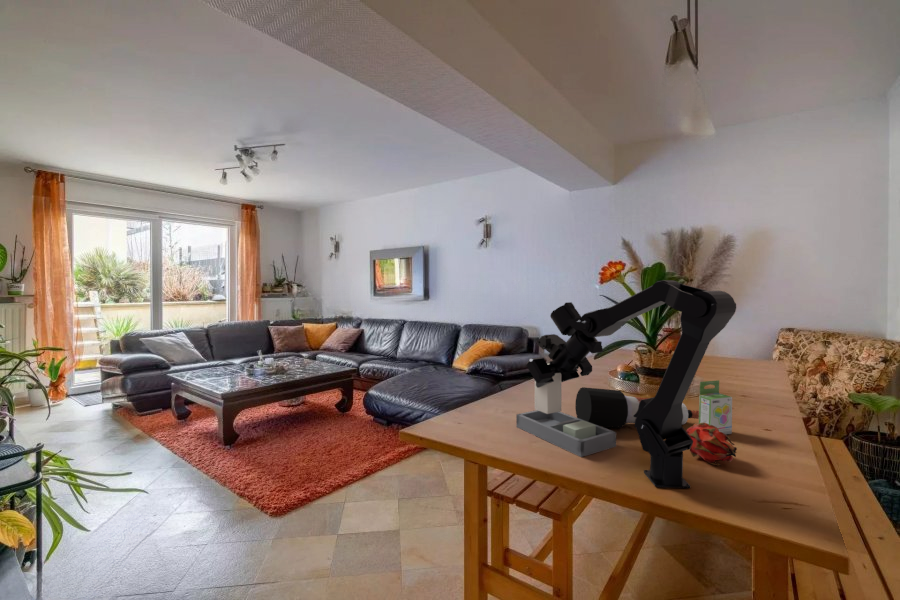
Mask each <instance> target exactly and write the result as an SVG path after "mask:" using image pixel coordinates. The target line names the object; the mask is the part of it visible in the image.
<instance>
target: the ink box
mask: <svg viewBox="0 0 900 600" xmlns="http://www.w3.org/2000/svg"><path fill="white" fill-rule="evenodd" d="M710 385H712V386H714V387H712V388H705V387H706V386H707V387H708V386H710ZM698 396H699V397H698V398H699V399H698V400H699V403H698V404H699V405H698V411H699V419H698V423H699V424H700V423H703V422H705V423H707V424H709V425H713V426H715V427H717V428H718V429H719V432H722V433H724V434H726V435H731V434H732V433H733V397H732V396H730V395H726V394H724V393H720V380H719V379H717V380H707V381H700V382H699V395H698Z"/></svg>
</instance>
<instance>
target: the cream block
mask: <svg viewBox="0 0 900 600" xmlns="http://www.w3.org/2000/svg"><path fill="white" fill-rule="evenodd" d="M547 365H549V363H547ZM552 378H553V380H554V382H551V383H549V384H546V385H544V386H541V387H539V388H537V386H536V381H535V380H534V410H538V411H541V412H543V413H546V414H550V413H555V412H559V411H560V412H562V382H561V373H555V375H554V376H553V377H552Z"/></svg>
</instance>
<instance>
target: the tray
mask: <svg viewBox="0 0 900 600" xmlns="http://www.w3.org/2000/svg"><path fill="white" fill-rule="evenodd" d="M515 418H516V423H515V424H516V428H517V429H520V430H522V431H525V432H526V433H529V434H530V435H533V436H535V437H538V438H539V439H541V440H544V441H545V442H547V443H550V444H553V445H554V446H556V447H558V448H561V449H562V450H565V451H567V452H569V453H572V454H573V455H576V456H578V457H579V458H583V457H586V456H589V455H592V454H595V453H596V454H597V453H598V452H603V451H606V450H609V449H612V448H616V447H617V432H616V431H614V430H611V429H608V428H607V427H601V426H598V425H595V424H592V423H590V422H587V421H584V420H582V419H579V418H577V416H576V417H575V416H573V415H570V414H567V413H564V412H562V411H559V412H555V413H550V414H546V413H543V412H541V411H538V410H536V409H534V410H531V411H526V412H521V413H516V417H515Z"/></svg>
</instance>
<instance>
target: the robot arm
mask: <svg viewBox="0 0 900 600" xmlns="http://www.w3.org/2000/svg"><path fill="white" fill-rule="evenodd" d="M665 304H666V305H668V307H671V309H674V310H676V311H678V312H681V314H680V317H679V320H680V328H681V334H680V336H679V337H680V338H679V339H678V342H677V344H676V347H675V349H674V352H673V354H672V356H671V359H670V361H669V363H668V365H667V368H666V370H665V373H664V374H663V377H662V379H661V382H660V385H659V387H658V388H657V390H656V393H655V395H654V396H652V397H647V398H648V399H644V400H641V401H640V403H639V407H638V411H637V412H636V414H635V415H634V417H636V419H635V424H634V428H635V429H636V432H637V434H638V438H639V441H640V444H641V448H642V451H643V452H644V451H645V452H647V453H648V454H649V455H650V461H649V463H650V464H649V465H650V468H649V469H643V474H644V475H645V477H646V478H647V479H648V480H649V481H650V482H651V483H652V484H653V486H654V487H656V488H669V489H670V488H671V489H672V488H673V489H691V485H690V483H688V482H687V480H685V478H684V477H683V474H684V470H683V468H684V467H683V465H684V451H688V450H689V451H690V448H691V446H692V444H693V440H692V438H691V437H690V436H689V435H688V433H687V432H686V429H685V428H684V427H683V426H682V425H681V424H682V420H683V412H682V403H684V400H685V397H686V395H687V394H688V392H689V389H690V387H691V384H692V382H693V380H694V378H695V377H696V376H695V375H697V372H698V369H699V366H700V365H701V362H702V360H703V358H704V356H705V353H706V352H707V349H708V348H709V346H710V343H711V341H712V340H713V339H714V338H715V337H716V336H717V335H718V334H719V333H721V331H722V330H724V328H726V326H727V325H728V323H729V322H730V321H731V319H733V318H732V317H733V316H734V315H735V313H736V310H737V303H736V302H735V300H734V298H733V296H732V295H731V294H730V293H727V292H726V291H724V290H707V289H703V288H699V287H695V286H691V285H687V284H684V283H681V282H678V281H676V280H672V279H671V280H665V279H663V280H657V281H656V282H654V284H652V285H651V286H649V287H647V288H645V289H643V290H641V291H639V292H638V293H636V294H633V295H632V296H629V297H628V298H626V299H624V300H622V301H619V302H618V303H616V304H614V305H612V306H610V307H606V308H601V309H596V310H593V311H590V312H589V311H588V312H585V313H584V314H582V316H581V314H580V313H579V311H578V310H577V308H576V307H575V305H574V303H573V302H572V301H571V302H570V301H569V302H564V304H563V305H560V306H558V307H557V308H556V309H554V310H553V311H551V313H550V318H551V320H552V322H553V324H554V325H555V326H556V328H557V329H558V330H559V332H560V333H561V335H563V336H567V337H569V338H568V339H567V340H564V339H563V338H562V337H560V336H559V334H555V333H553V334H552V333H551V334H544V335H541V337H540V338H538V342H537V345H538V347H540V348H541V349H542V350H545V351H547V353H548V357H549V360H550V361H548V363H547V362H546V360H545V358H544V357H532V358H529V360H528V361H527V362H526V364H525V365H526V367H527V369H528V371H529V372H530V375H531V377H532V379H534V382H535V381H536V386H537V388H539V387H541V386H544V385H546V384H549V383H551V382H554V380H553V378H552V377H553V376H554V375H555V373H561V383H564V382H567V381H570V380H575V379H577V378H578V379H579V378H580V375H581V377H586V376H589V375H590V374H591V373H592V372H593V365H592V364H591V362H590V360H589V359H588V358H587V356H588V354H590V353H591V354H593V355H594V354H599V353H603V352H604V349H603V346H602V343H603V342H602V341H600V340H598V339H597V338H598V337H608V336H611V335H613V334H614V333H615V332H617V331H619V330H620V329H621V328H622V327H623V325H624V324H625V323H627V322H629V321H630V320H632V319H635V318H637V317H639V316H641V315H643V314H645V313H647V312H649V311H651V310H655V309H657V308H659V307H660V306H662V305H665ZM547 364H549V365H547ZM579 369H580V370H581V371H580V372H579V373H578V371H579Z"/></svg>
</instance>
